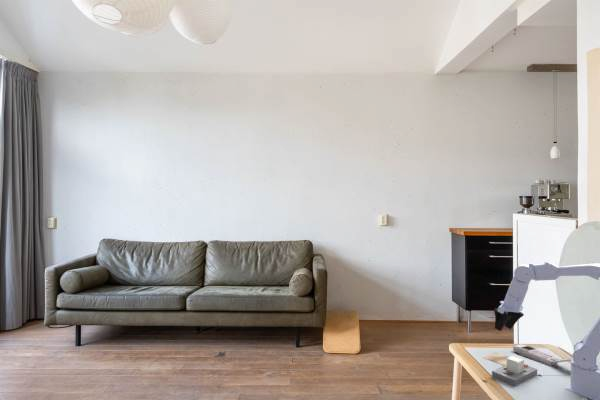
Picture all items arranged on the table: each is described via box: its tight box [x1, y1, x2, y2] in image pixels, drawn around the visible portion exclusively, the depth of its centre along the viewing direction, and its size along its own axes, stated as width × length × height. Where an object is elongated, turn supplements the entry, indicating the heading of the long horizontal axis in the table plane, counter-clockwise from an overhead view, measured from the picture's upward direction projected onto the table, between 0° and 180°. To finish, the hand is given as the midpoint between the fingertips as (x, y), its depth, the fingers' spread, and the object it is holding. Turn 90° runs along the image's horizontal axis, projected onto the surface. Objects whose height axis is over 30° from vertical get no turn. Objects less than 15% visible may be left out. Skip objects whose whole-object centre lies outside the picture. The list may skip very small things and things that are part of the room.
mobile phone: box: [512, 344, 573, 367], centre depth 152 cm, size 6×6×25 cm
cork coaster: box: [483, 351, 510, 366], centre depth 151 cm, size 10×10×1 cm
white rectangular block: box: [506, 355, 525, 375], centre depth 137 cm, size 4×4×6 cm
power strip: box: [491, 363, 538, 387], centre depth 137 cm, size 16×8×4 cm, turn 124°
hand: (502, 328), depth 142 cm, fingers open, 7 cm apart
